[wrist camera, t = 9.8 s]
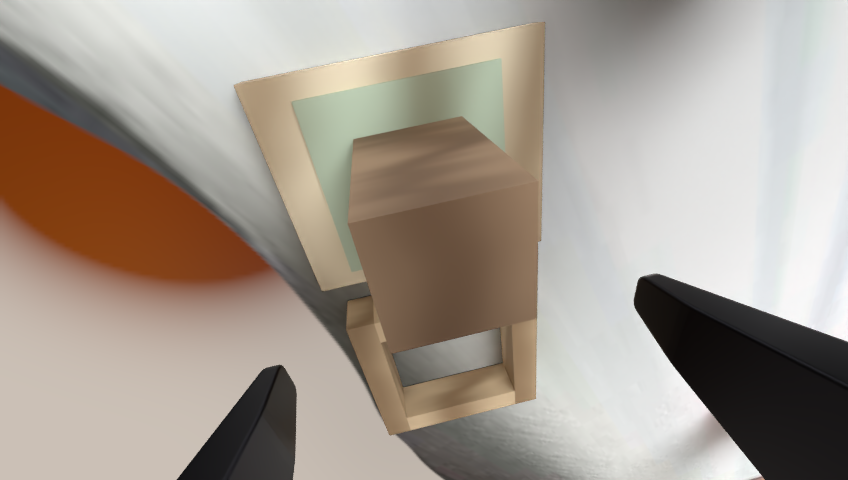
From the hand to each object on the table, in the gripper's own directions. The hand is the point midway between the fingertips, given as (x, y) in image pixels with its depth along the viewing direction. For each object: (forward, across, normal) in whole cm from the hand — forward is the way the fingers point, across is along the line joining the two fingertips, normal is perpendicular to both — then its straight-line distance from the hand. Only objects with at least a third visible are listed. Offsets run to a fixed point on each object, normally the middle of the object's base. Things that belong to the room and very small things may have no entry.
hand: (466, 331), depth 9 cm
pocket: (+11, 0, +13) cm, 17 cm away
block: (+10, 0, 0) cm, 10 cm away
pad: (+11, 0, 0) cm, 11 cm away
